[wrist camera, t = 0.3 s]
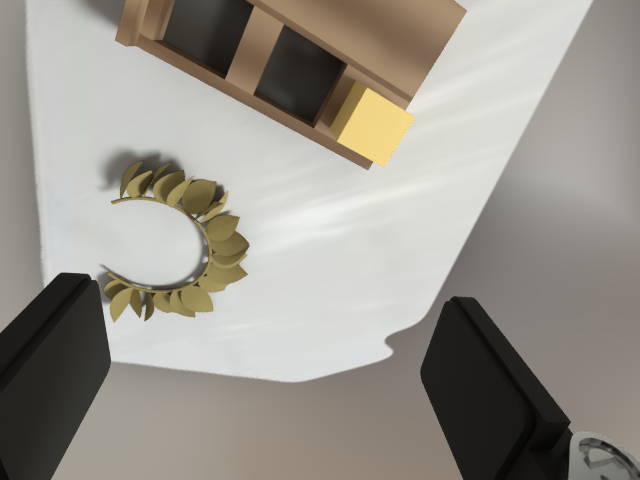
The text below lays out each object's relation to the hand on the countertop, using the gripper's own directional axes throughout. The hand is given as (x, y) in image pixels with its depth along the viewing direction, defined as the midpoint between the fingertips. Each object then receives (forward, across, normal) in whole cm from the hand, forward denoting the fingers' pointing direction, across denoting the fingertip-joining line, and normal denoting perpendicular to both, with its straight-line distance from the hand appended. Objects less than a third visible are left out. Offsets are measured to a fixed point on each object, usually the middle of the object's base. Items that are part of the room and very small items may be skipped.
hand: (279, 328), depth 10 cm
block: (+26, -7, -2) cm, 27 cm away
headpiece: (+30, +10, +15) cm, 35 cm away
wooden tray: (+29, -1, -9) cm, 30 cm away
